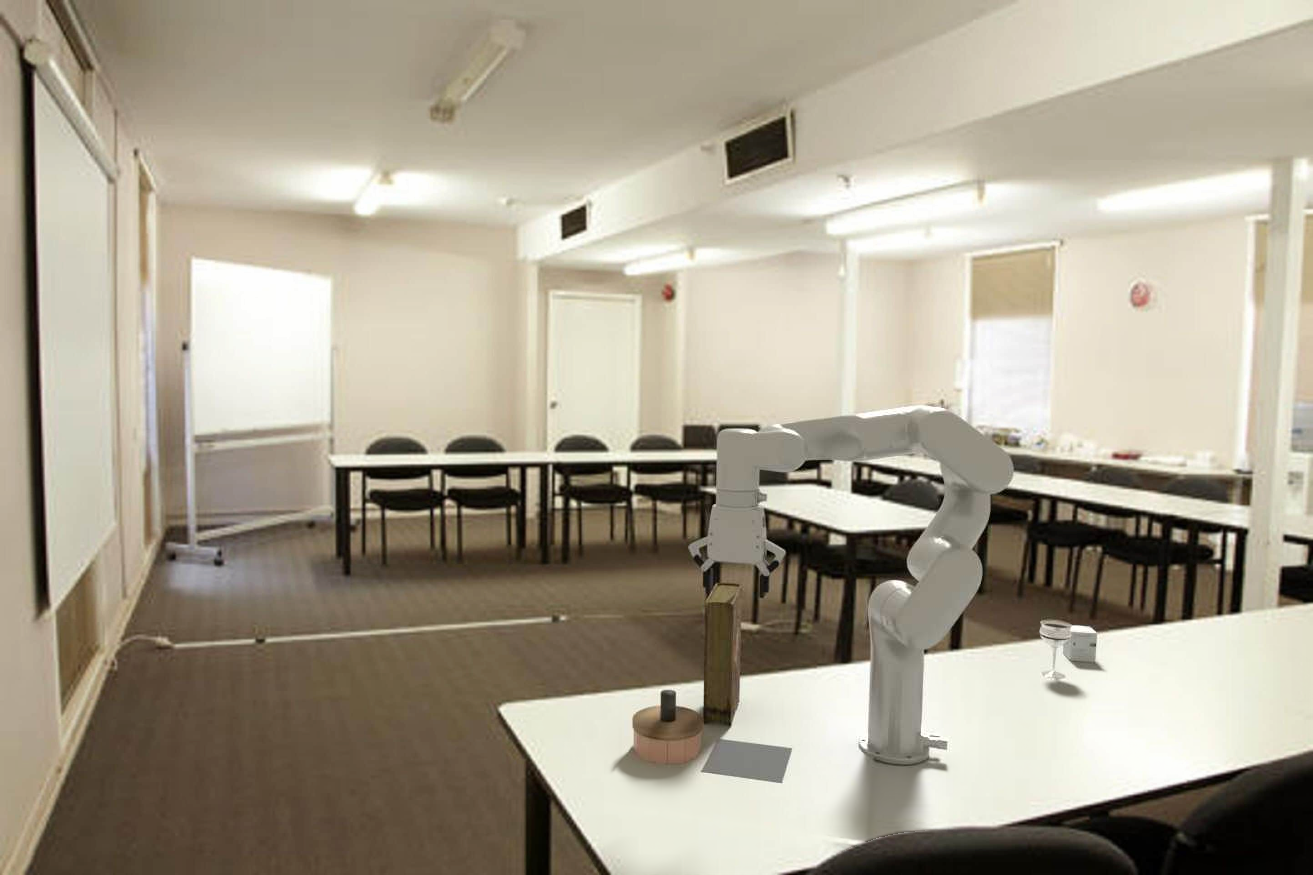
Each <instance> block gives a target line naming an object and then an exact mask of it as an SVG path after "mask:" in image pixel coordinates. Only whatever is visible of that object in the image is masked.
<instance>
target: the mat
mask: <svg viewBox="0 0 1313 875" xmlns="http://www.w3.org/2000/svg"><path fill="white" fill-rule="evenodd" d="M792 751H793V747H785V746H779V745H778V746H777V745H770V744H764V743H763V744H762V743H754V742H748V741H747V742H746V741H738V740H731V739H723V738H717V739H716V742H715V744H714V745H713V747H712V749H711V752H710V753H709V755H708V757H707V759H706V761H705V763H704V765H703V767H702V769H701V771H700V772H702V773H707V774H716V775H723V776H729V777H736V778H745V779H752V780H758V781H766V782H772V783H780V784H782V783H783V781H784V778H785V774H786V771H787V768H788V764H789V760H790V758H791V754H792Z"/></svg>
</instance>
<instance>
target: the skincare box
mask: <svg viewBox="0 0 1313 875" xmlns="http://www.w3.org/2000/svg"><path fill="white" fill-rule="evenodd" d="M1071 625H1072V624H1071ZM1070 630H1071V633H1072V635H1071V639H1070V641H1069V642H1068V643H1066V644H1065V645H1063V646H1062V654H1063V655H1064V656H1065V657H1066V658H1067V659H1068V660H1069V661H1070V662H1071V661H1073V662H1086V663H1095V662H1096V658H1097V657H1096V656H1097V640H1098V632H1096V630H1095V629H1093V628H1092V627H1091V626H1086V625H1072V627H1071V628H1070Z"/></svg>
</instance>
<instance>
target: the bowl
mask: <svg viewBox="0 0 1313 875" xmlns="http://www.w3.org/2000/svg"><path fill="white" fill-rule="evenodd" d="M633 750H634V752H635V754H636V756H637V757H638V758H641V759H642V760H645V761H647V762H650V763H656V764H664V765H673V764H681V763H687V762H689V761H691V760H693V759H696V758H697V757H698V756H699V754H700V753H701V750H702V731H701V732H700V733H699V734H698V735H696V736H694V737H691V738H688V739H683V740H674V741H665V740H656V739H651V738H647V737H644V736H642V735H640V734H638V733H637V732H636V731H635V730H634V729H633Z"/></svg>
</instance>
